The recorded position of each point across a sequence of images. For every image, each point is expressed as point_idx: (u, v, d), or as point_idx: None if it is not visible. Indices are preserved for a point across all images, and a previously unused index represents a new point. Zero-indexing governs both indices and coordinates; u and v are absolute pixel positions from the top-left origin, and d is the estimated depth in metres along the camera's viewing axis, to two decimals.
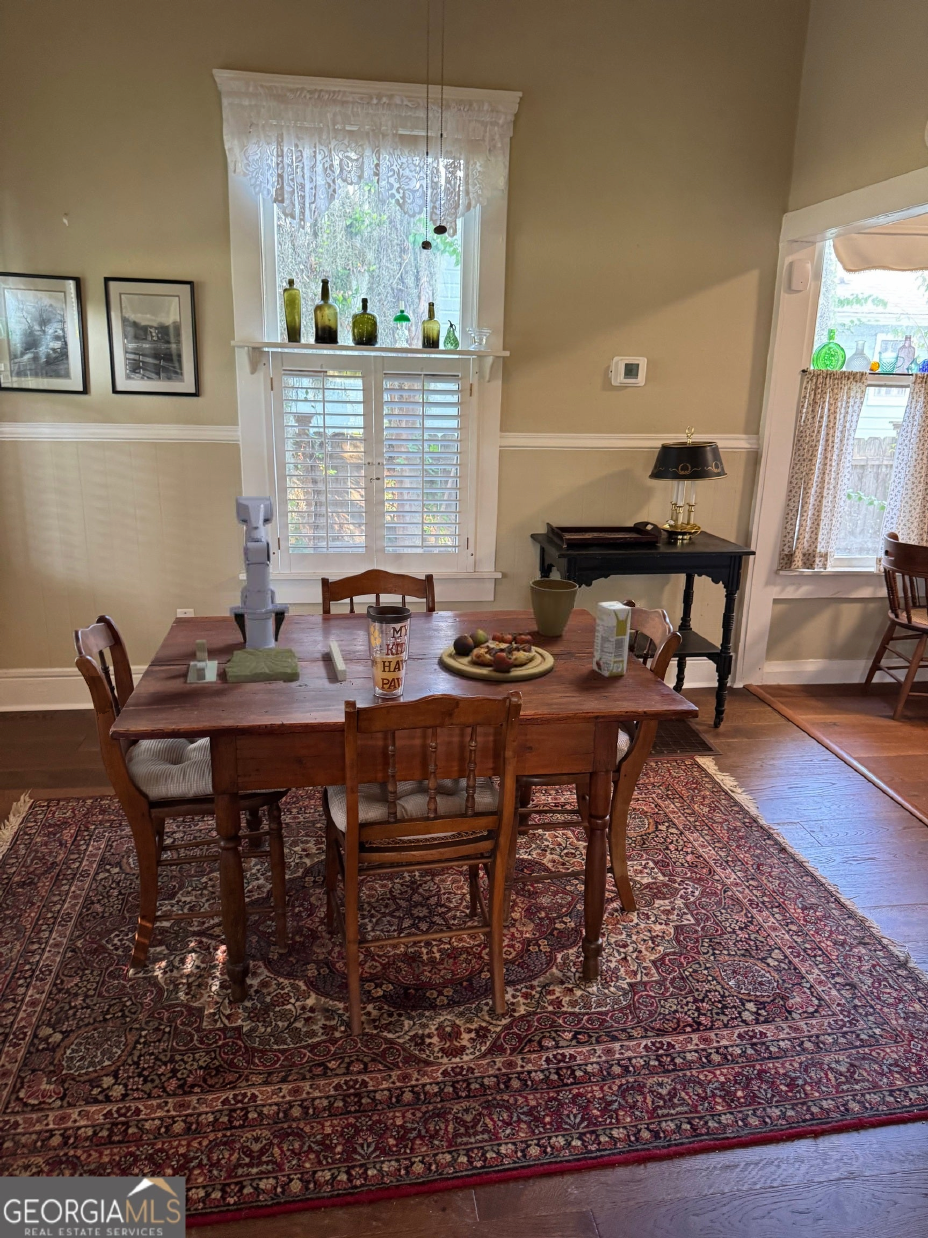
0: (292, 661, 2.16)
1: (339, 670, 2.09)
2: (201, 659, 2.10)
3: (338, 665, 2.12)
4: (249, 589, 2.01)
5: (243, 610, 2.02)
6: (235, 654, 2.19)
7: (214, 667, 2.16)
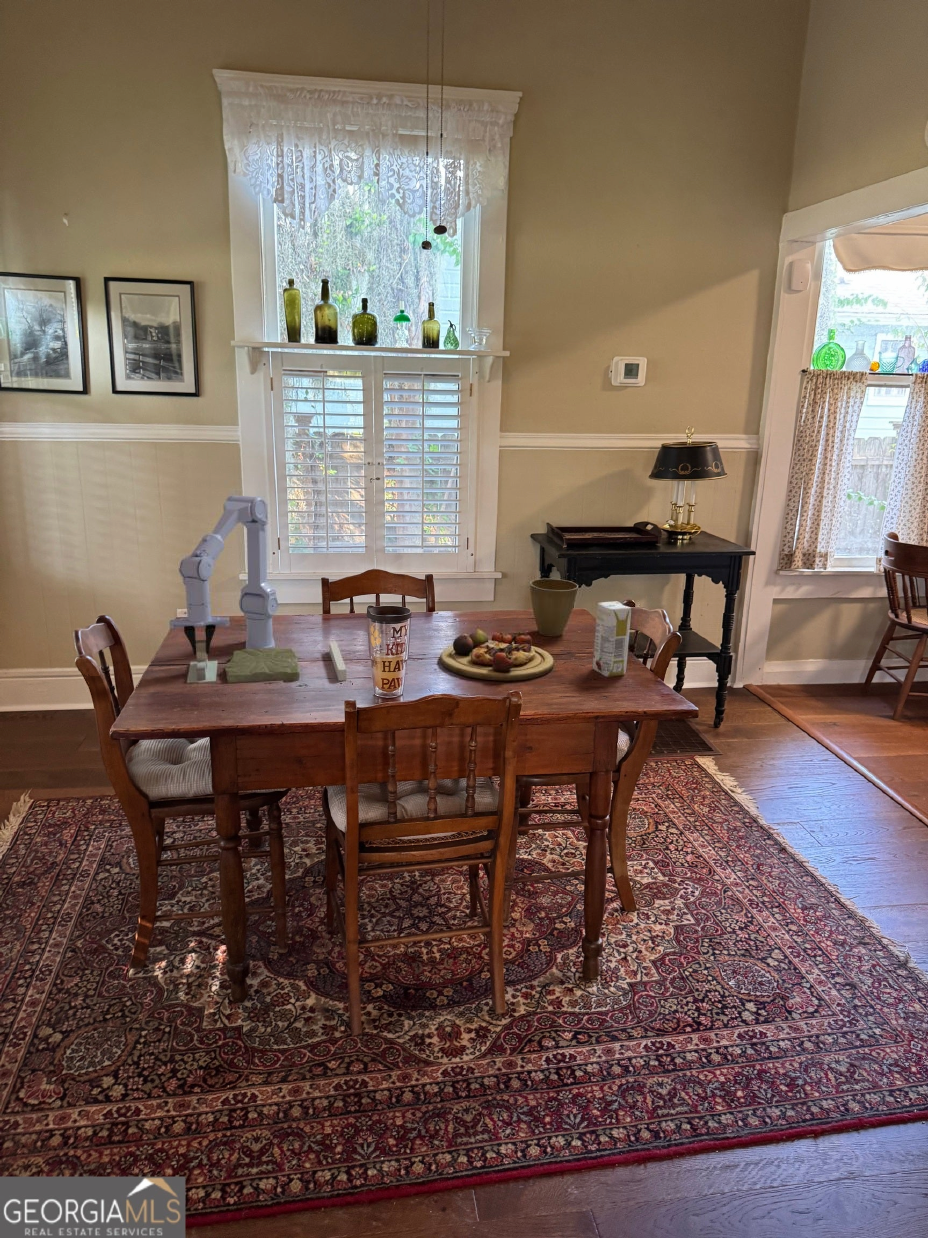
0: (292, 661, 2.16)
1: (339, 670, 2.09)
2: (201, 659, 2.10)
3: (338, 665, 2.12)
4: (186, 601, 2.06)
5: (183, 623, 2.06)
6: (235, 654, 2.19)
7: (214, 667, 2.16)
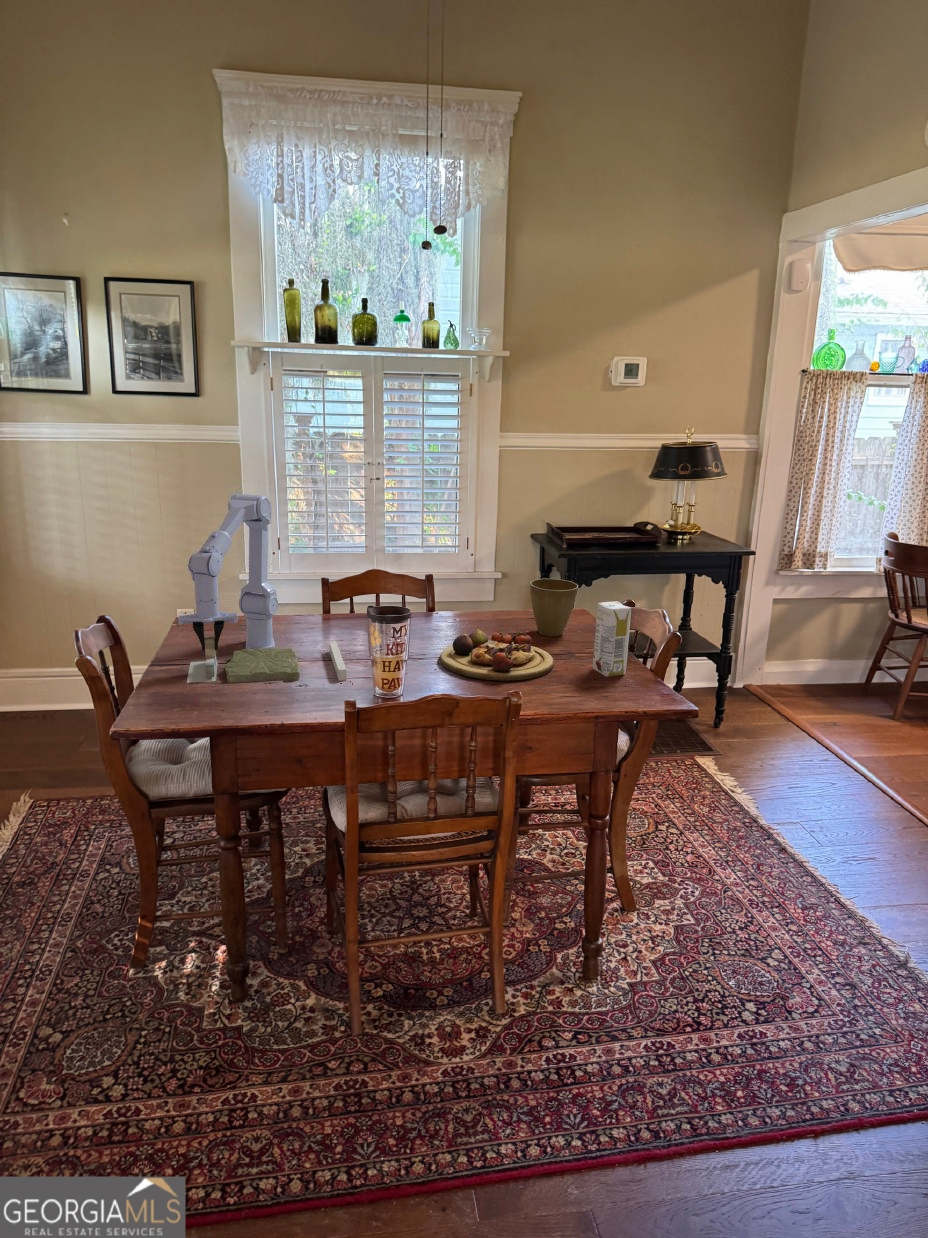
0: (292, 661, 2.16)
1: (339, 670, 2.09)
2: (210, 656, 2.10)
3: (338, 665, 2.12)
4: (195, 597, 2.06)
5: (191, 619, 2.06)
6: (235, 654, 2.19)
7: None
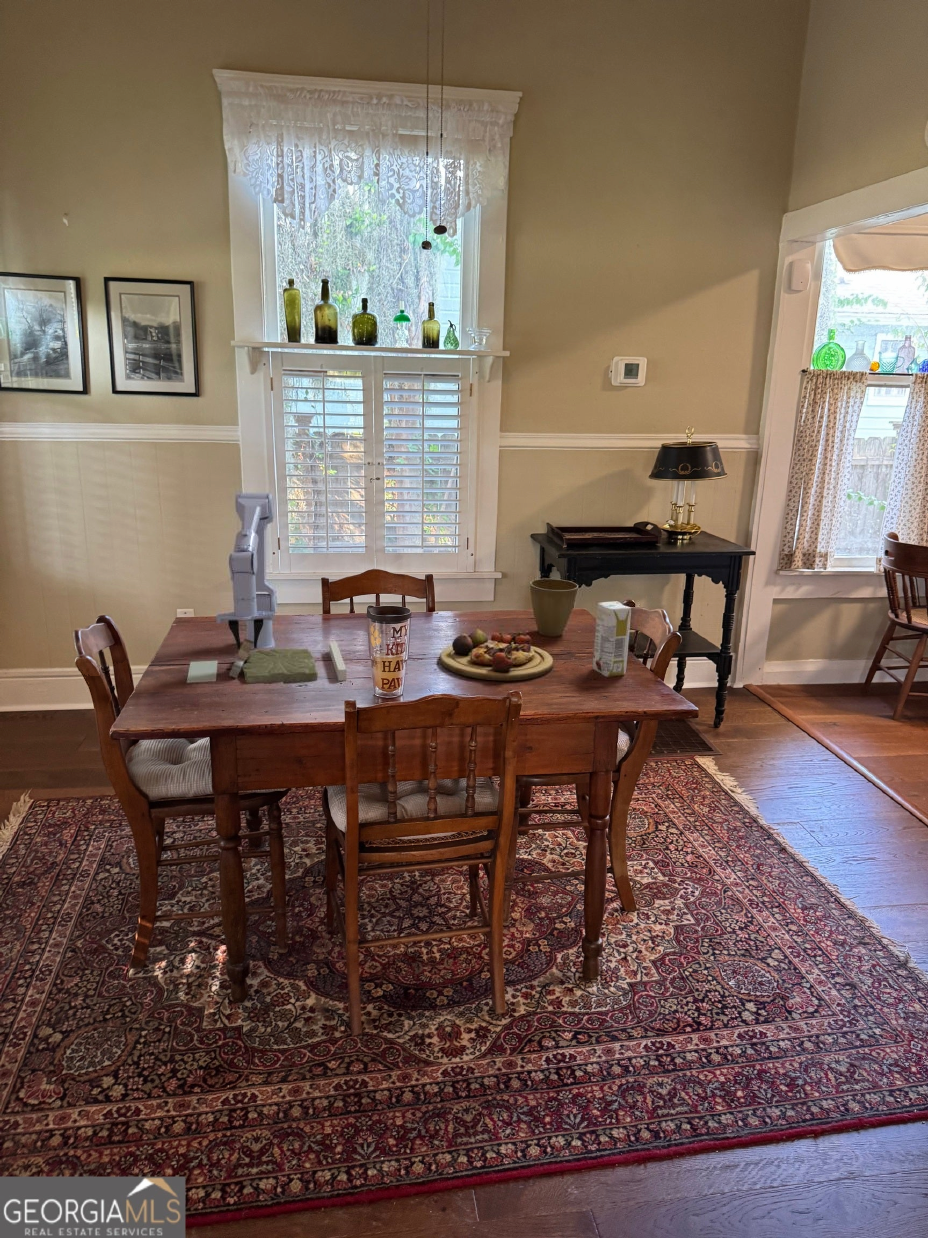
0: (309, 661, 2.16)
1: (339, 670, 2.09)
2: (241, 657, 2.12)
3: (338, 665, 2.12)
4: (234, 597, 2.08)
5: (230, 617, 2.08)
6: (251, 655, 2.19)
7: (214, 667, 2.16)
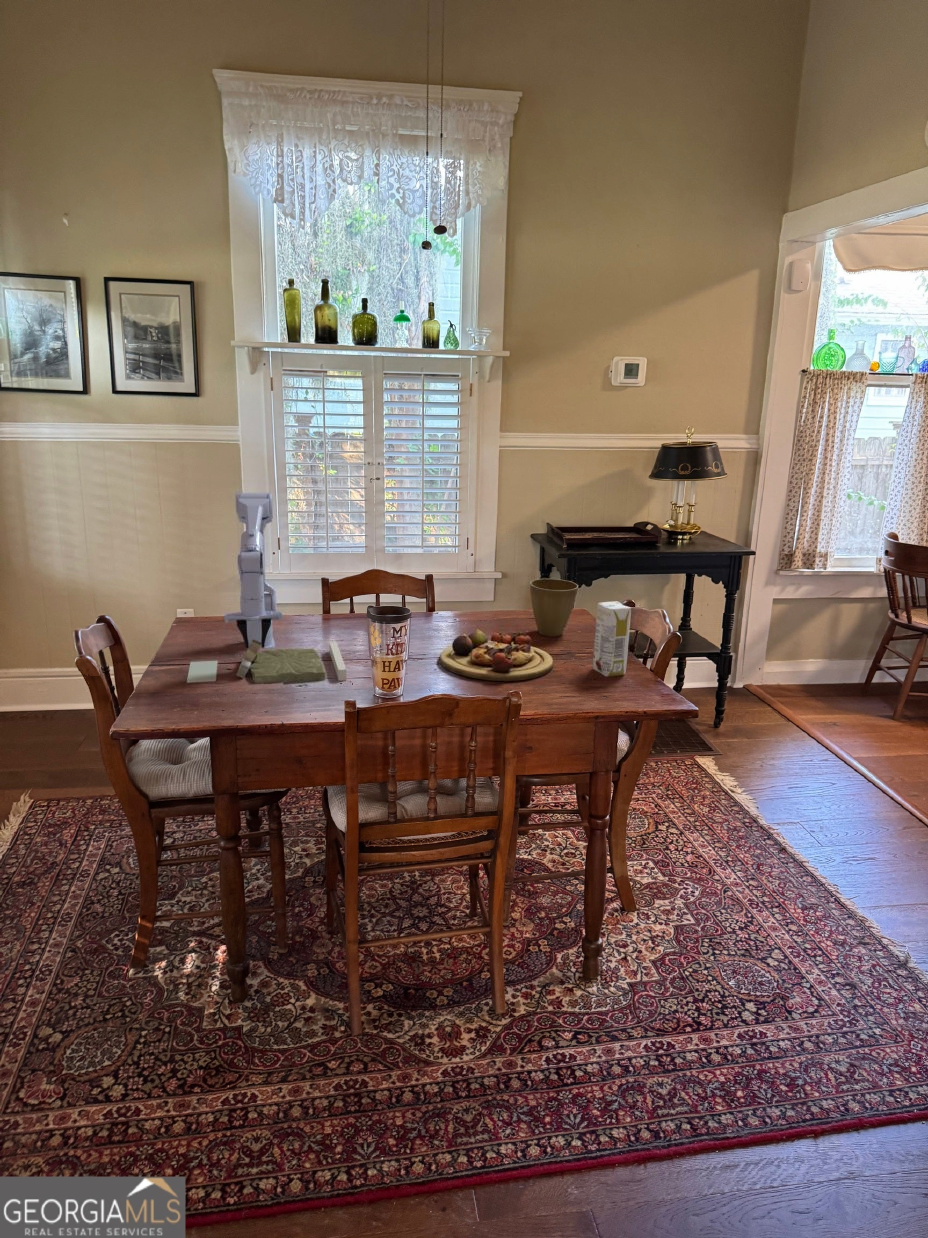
0: (316, 661, 2.17)
1: (339, 670, 2.09)
2: (248, 658, 2.12)
3: (338, 665, 2.12)
4: (243, 597, 2.08)
5: (238, 617, 2.09)
6: (258, 655, 2.19)
7: (214, 667, 2.16)
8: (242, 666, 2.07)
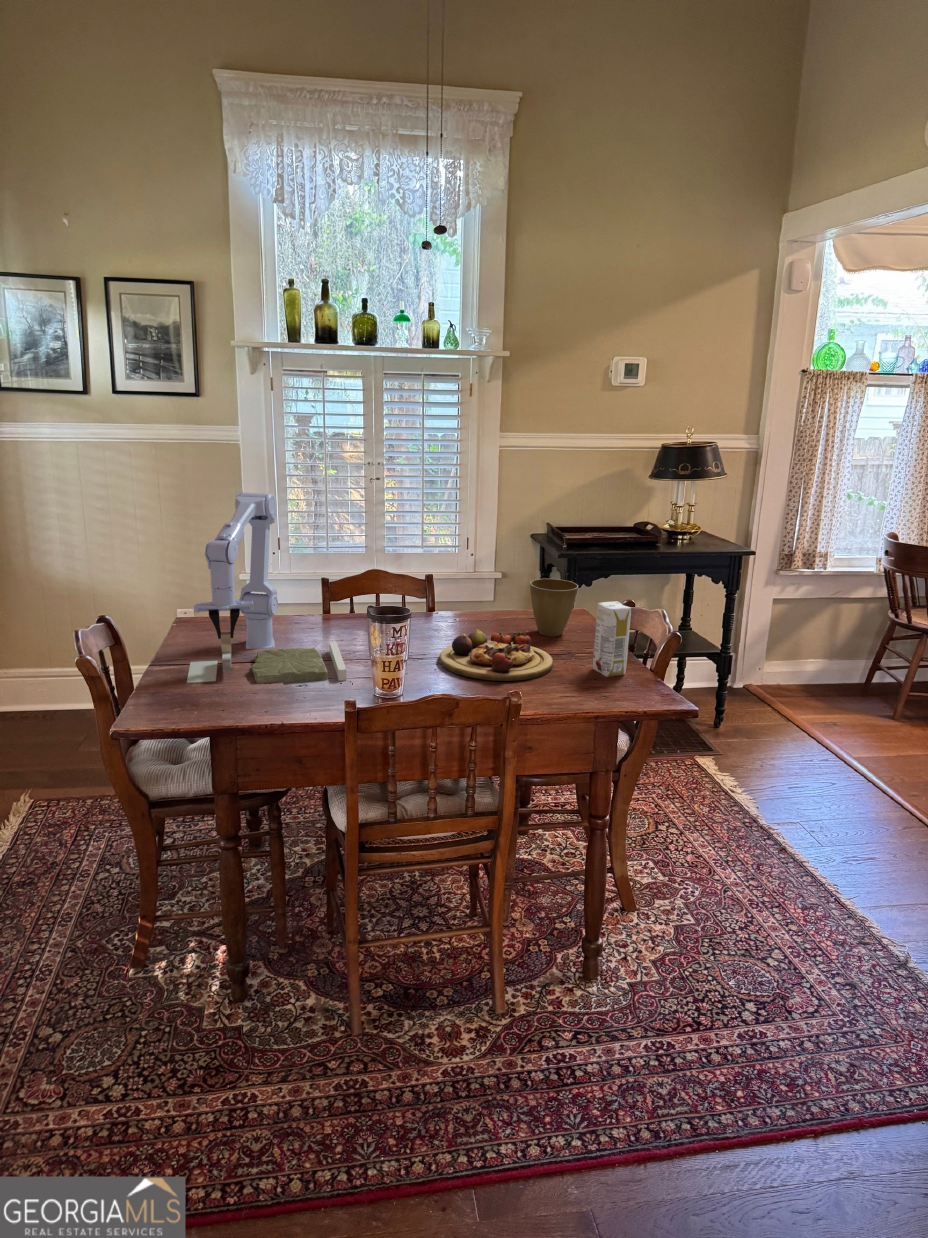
0: (318, 661, 2.17)
1: (339, 670, 2.09)
2: (226, 651, 2.10)
3: (338, 665, 2.12)
4: (211, 585, 2.06)
5: (208, 607, 2.06)
6: (259, 655, 2.20)
7: (214, 667, 2.16)
8: (223, 661, 2.05)
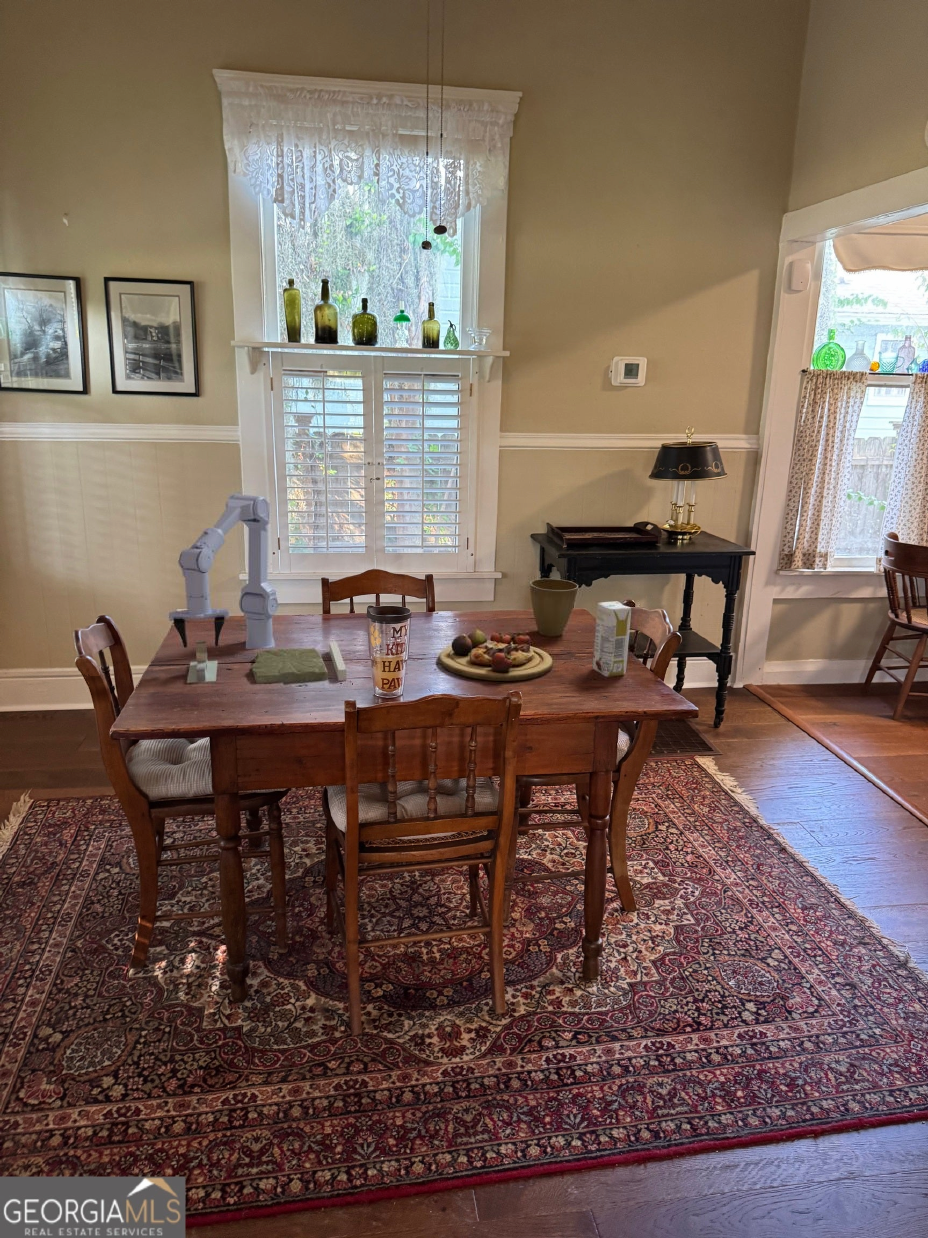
0: (318, 661, 2.17)
1: (339, 670, 2.09)
2: (201, 660, 2.09)
3: (338, 665, 2.12)
4: (186, 593, 2.06)
5: (182, 615, 2.05)
6: (259, 655, 2.20)
7: (214, 667, 2.16)
8: (197, 671, 2.04)
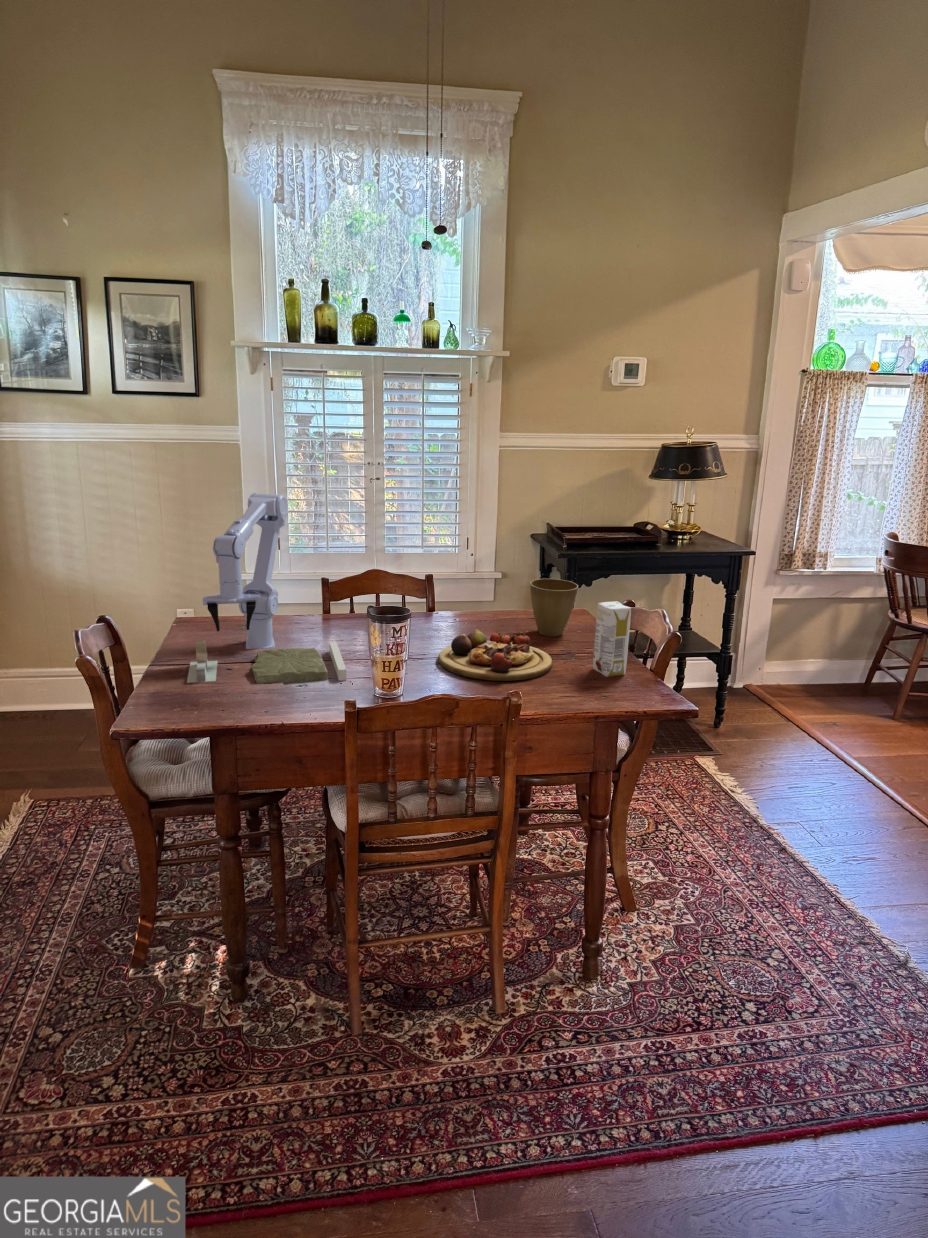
0: (318, 661, 2.17)
1: (339, 670, 2.09)
2: (201, 660, 2.09)
3: (338, 665, 2.12)
4: (219, 579, 2.13)
5: (216, 600, 2.13)
6: (259, 655, 2.19)
7: (214, 667, 2.16)
8: (197, 671, 2.04)
